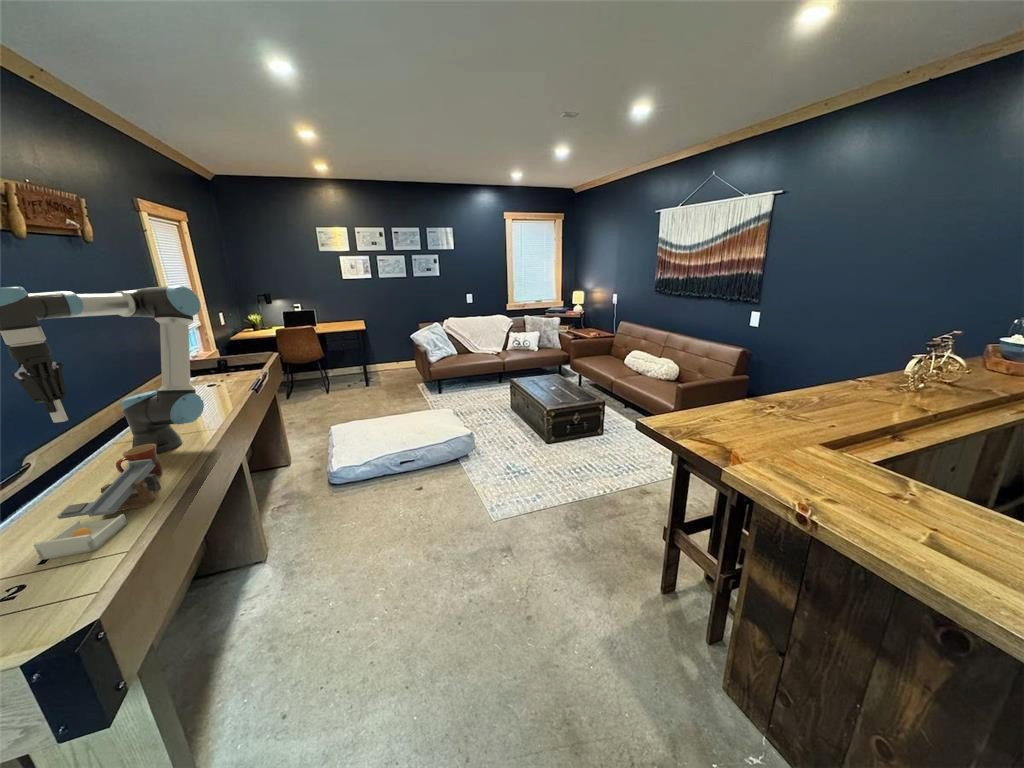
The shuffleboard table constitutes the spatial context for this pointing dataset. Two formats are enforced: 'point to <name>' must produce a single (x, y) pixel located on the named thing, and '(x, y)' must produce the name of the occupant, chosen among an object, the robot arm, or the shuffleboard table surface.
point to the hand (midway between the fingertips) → (61, 421)
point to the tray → (80, 538)
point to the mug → (141, 457)
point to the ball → (81, 532)
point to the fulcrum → (140, 493)
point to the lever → (112, 492)
